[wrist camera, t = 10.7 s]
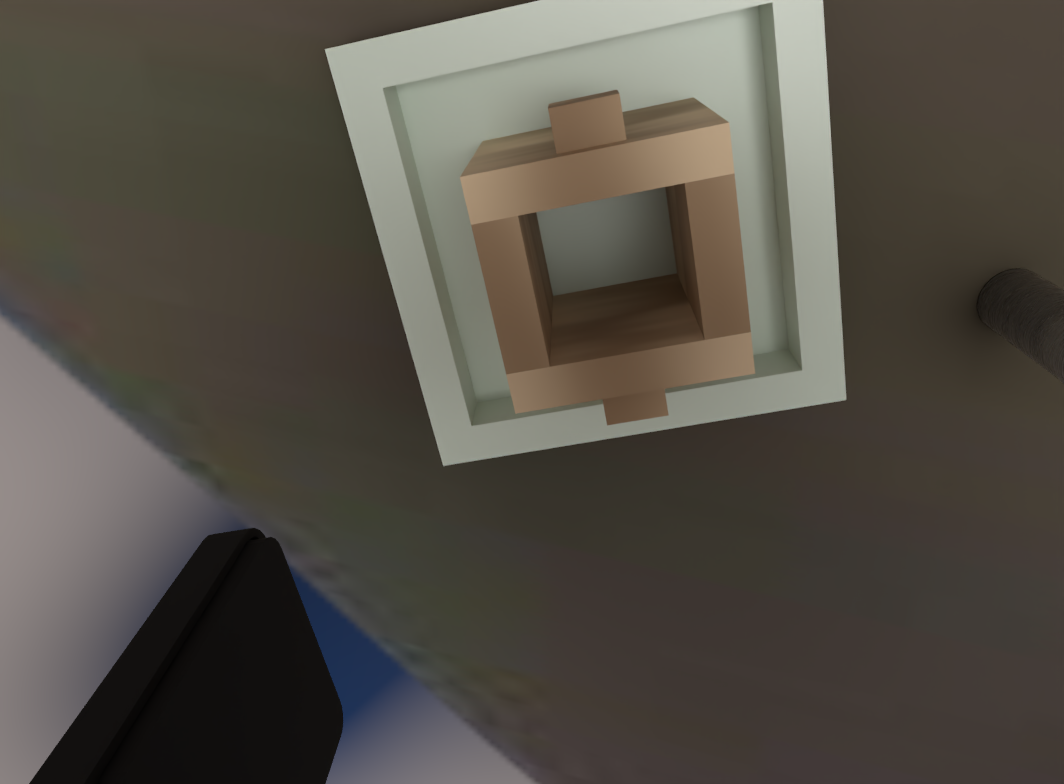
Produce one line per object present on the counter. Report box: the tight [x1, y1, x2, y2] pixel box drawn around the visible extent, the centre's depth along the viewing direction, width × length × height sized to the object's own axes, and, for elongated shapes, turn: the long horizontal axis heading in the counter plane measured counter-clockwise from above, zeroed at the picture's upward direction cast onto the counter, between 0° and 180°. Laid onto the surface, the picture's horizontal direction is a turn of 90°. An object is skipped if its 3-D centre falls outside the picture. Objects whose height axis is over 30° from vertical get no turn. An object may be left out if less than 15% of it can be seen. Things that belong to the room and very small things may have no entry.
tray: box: [325, 0, 846, 466], centre depth 24 cm, size 12×12×2 cm
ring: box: [460, 90, 755, 425], centre depth 22 cm, size 6×8×6 cm
